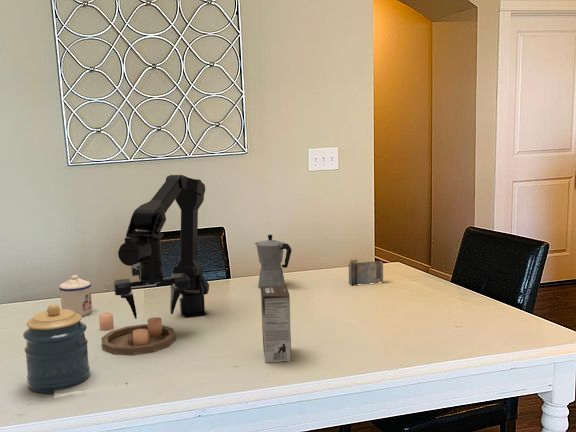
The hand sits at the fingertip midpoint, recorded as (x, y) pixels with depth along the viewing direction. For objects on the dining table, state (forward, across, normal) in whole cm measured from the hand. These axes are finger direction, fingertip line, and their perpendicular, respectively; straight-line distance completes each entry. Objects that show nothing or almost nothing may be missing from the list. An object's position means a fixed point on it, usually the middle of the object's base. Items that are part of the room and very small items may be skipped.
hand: (153, 316), depth 163 cm
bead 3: (+6, 0, 0) cm, 6 cm away
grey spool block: (+7, -74, -28) cm, 80 cm away
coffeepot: (+6, -45, -36) cm, 58 cm away
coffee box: (+6, -26, +24) cm, 35 cm away
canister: (+7, +23, +19) cm, 31 cm away
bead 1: (+6, +11, -13) cm, 18 cm away
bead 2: (+6, +4, +8) cm, 10 cm away
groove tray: (+6, +4, +2) cm, 8 cm away
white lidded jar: (+6, +18, -35) cm, 40 cm away
